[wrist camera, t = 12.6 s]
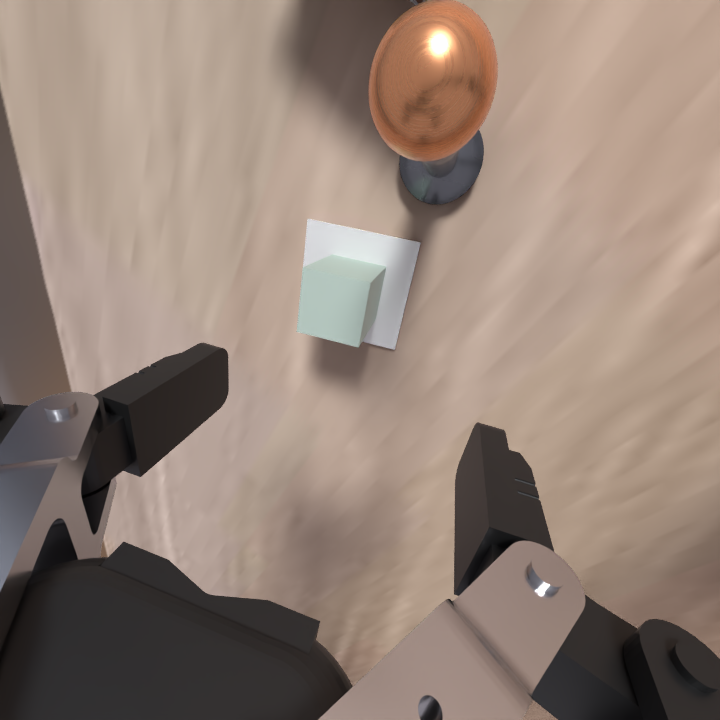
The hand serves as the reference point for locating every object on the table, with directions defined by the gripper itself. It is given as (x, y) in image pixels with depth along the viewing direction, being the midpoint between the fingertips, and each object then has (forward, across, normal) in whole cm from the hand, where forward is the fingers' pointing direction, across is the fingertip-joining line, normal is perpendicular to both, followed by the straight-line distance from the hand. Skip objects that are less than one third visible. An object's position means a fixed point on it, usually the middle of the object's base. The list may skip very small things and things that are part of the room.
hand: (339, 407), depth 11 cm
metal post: (+22, 0, -9) cm, 24 cm away
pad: (+22, +5, +2) cm, 22 cm away
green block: (+21, +5, +2) cm, 22 cm away
